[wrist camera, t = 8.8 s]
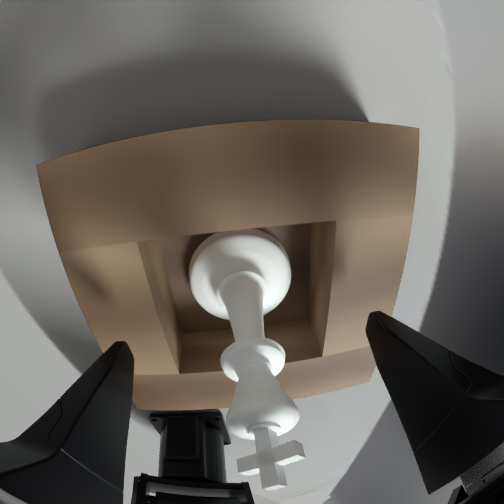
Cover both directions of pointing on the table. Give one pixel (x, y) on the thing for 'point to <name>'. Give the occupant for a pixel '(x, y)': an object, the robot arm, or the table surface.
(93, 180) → the tan wooden square block
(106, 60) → the table surface
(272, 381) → the chess piece
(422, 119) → the table surface
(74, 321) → the table surface
